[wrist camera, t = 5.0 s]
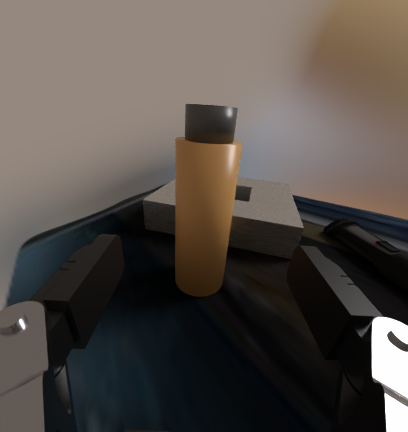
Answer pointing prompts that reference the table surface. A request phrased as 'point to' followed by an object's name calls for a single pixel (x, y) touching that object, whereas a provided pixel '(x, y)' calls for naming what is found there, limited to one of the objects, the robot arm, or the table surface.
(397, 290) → the table surface
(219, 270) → the plug
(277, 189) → the grey square-holed plate
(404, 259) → the electric trimmer
